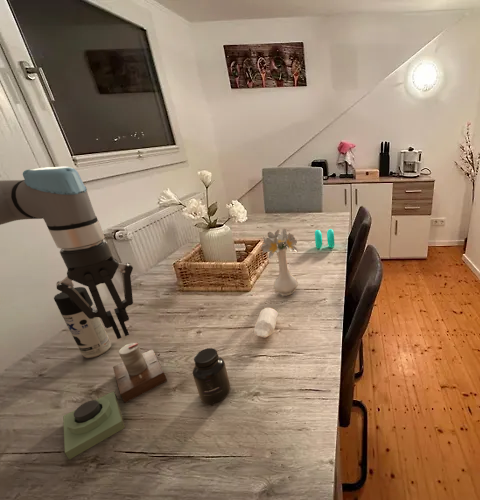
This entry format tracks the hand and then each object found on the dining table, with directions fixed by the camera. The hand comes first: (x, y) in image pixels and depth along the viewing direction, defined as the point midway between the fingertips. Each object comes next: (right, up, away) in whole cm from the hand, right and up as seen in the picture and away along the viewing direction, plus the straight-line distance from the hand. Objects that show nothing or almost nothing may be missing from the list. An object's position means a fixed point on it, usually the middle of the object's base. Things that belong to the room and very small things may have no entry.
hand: (122, 334), depth 68 cm
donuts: (+42, +22, +84) cm, 97 cm away
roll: (+29, -6, +21) cm, 36 cm away
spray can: (-20, -10, +16) cm, 27 cm away
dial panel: (0, -13, +6) cm, 14 cm away
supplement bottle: (+22, -15, +1) cm, 27 cm away
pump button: (-1, -15, -7) cm, 17 cm away
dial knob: (0, -10, +4) cm, 11 cm away
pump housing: (-1, -18, -6) cm, 19 cm away
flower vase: (+30, +4, +44) cm, 53 cm away
